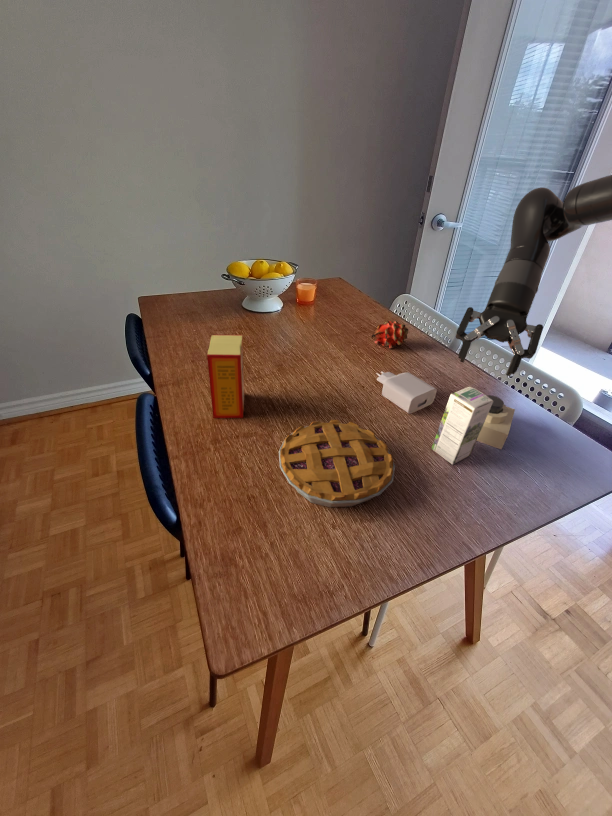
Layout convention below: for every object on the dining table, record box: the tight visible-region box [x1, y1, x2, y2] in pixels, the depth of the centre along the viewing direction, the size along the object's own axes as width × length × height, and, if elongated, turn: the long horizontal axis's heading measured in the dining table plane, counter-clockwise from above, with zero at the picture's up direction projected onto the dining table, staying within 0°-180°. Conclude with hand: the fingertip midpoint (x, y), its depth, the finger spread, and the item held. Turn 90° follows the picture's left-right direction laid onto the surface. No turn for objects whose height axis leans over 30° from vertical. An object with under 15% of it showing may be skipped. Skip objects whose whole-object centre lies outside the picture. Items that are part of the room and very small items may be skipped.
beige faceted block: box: [476, 404, 516, 450], centre depth 89 cm, size 10×11×6 cm
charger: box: [375, 370, 438, 415], centre depth 99 cm, size 5×9×15 cm
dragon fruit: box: [371, 319, 409, 350], centre depth 120 cm, size 8×8×12 cm
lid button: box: [485, 394, 505, 414], centre depth 87 cm, size 4×4×2 cm
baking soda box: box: [206, 334, 245, 419], centre depth 87 cm, size 10×6×16 cm
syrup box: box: [431, 386, 493, 465], centre depth 79 cm, size 6×6×14 cm
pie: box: [278, 419, 396, 508], centre depth 75 cm, size 22×22×5 cm
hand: (484, 367), depth 75 cm, fingers open, 8 cm apart
